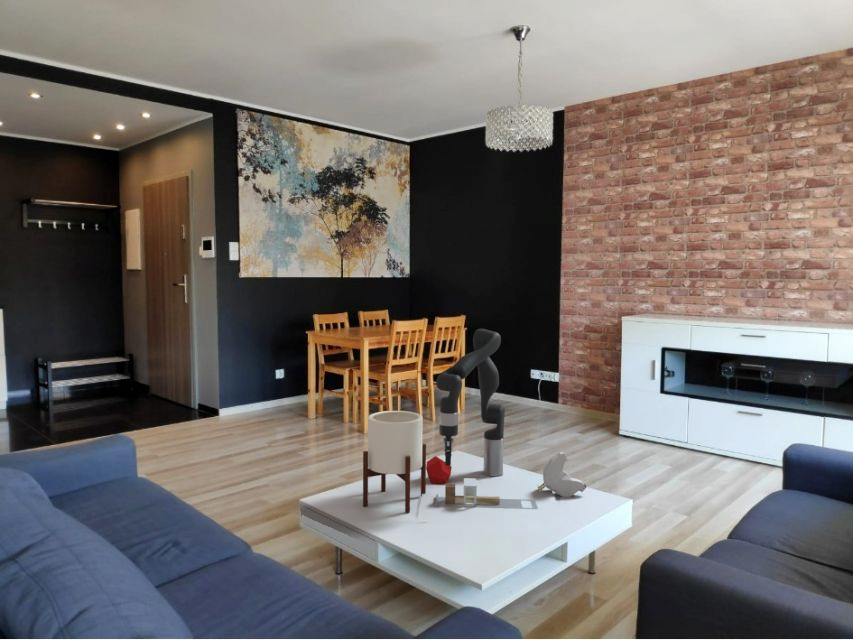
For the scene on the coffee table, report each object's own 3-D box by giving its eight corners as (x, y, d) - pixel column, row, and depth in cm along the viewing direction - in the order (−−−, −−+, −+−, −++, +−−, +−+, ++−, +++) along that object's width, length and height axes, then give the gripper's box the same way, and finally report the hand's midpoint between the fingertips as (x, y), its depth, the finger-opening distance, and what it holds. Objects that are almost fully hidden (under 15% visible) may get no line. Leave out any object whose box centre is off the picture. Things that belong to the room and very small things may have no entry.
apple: (427, 490, 267) (418, 469, 281) (452, 489, 271) (443, 469, 284) (431, 468, 263) (423, 448, 276) (457, 468, 267) (447, 448, 280)
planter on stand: (381, 489, 263) (381, 408, 261) (429, 495, 256) (429, 413, 253) (358, 507, 242) (358, 420, 240) (410, 514, 235) (411, 425, 232)
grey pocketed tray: (435, 500, 250) (436, 477, 249) (534, 503, 248) (535, 479, 247) (435, 509, 240) (435, 485, 239) (538, 512, 238) (538, 488, 237)
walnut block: (445, 500, 247) (445, 483, 246) (455, 500, 247) (455, 483, 246) (445, 503, 243) (445, 486, 242) (455, 503, 243) (455, 487, 242)
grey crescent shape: (543, 506, 255) (589, 493, 254) (531, 464, 254) (576, 450, 253) (541, 500, 262) (585, 487, 261) (528, 459, 261) (573, 446, 260)
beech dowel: (455, 501, 245) (455, 495, 245) (499, 502, 245) (499, 496, 244) (455, 503, 243) (455, 497, 243) (499, 504, 242) (499, 498, 242)
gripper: (457, 427, 235) (457, 468, 236) (457, 419, 249) (457, 457, 250) (438, 427, 236) (438, 467, 237) (439, 418, 250) (439, 456, 251)
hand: (448, 462), depth 244 cm, fingers open, 8 cm apart
